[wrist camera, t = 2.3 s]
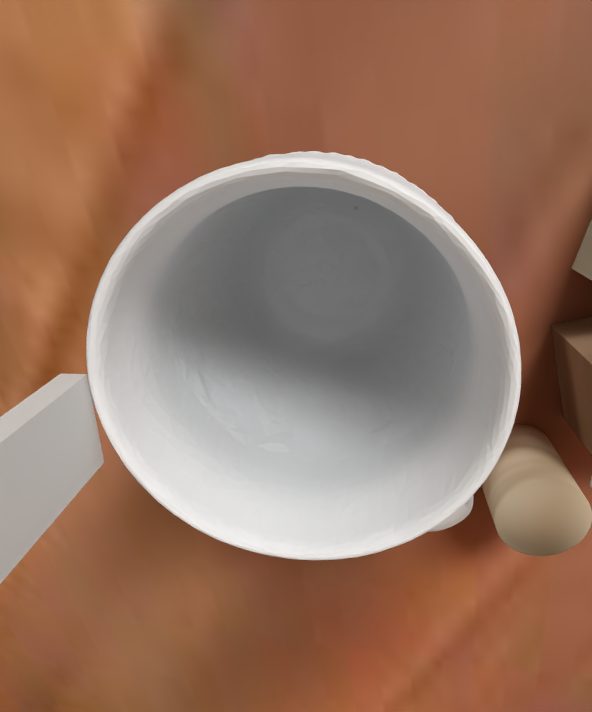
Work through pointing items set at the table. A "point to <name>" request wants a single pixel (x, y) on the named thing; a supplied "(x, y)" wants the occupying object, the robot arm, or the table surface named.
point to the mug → (305, 358)
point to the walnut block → (575, 374)
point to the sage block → (585, 255)
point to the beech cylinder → (535, 496)
